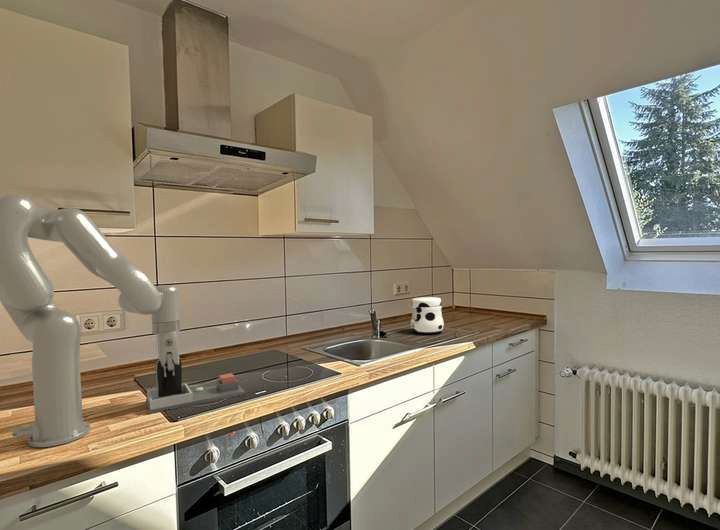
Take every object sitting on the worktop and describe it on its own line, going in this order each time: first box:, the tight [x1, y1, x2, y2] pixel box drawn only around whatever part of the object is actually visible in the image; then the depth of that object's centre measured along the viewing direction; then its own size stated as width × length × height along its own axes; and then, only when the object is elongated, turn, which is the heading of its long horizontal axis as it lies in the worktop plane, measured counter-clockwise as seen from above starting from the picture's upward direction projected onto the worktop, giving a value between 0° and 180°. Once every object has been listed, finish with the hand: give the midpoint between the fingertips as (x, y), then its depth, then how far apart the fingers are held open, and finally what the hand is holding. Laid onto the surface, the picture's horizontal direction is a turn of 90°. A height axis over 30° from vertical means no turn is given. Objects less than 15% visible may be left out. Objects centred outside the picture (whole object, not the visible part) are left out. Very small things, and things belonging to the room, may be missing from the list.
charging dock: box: [145, 378, 246, 415], centre depth 128 cm, size 27×12×4 cm, turn 121°
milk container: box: [410, 296, 445, 335], centre depth 219 cm, size 17×17×18 cm
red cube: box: [218, 372, 236, 384], centre depth 132 cm, size 4×4×4 cm
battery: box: [155, 357, 183, 397], centre depth 124 cm, size 7×4×11 cm, turn 127°
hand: (168, 386), depth 123 cm, fingers closed on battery, 3 cm apart
